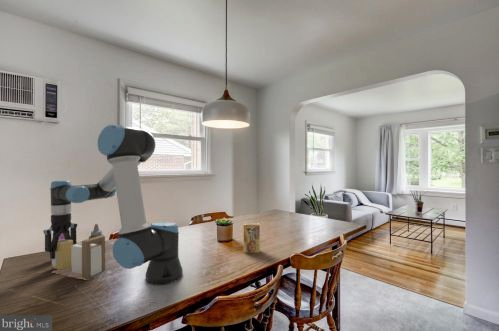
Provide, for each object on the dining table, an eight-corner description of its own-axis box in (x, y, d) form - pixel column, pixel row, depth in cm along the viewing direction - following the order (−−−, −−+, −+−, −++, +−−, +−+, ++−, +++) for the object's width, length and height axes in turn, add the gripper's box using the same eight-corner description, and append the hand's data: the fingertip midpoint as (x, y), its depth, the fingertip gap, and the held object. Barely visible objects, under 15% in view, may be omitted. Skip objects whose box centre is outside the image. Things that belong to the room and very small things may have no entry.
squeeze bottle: (103, 255, 128) (103, 221, 128) (107, 259, 122) (107, 224, 122) (85, 259, 122) (85, 224, 122) (88, 264, 117) (88, 227, 116)
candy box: (259, 250, 136) (259, 223, 136) (259, 252, 131) (259, 225, 131) (243, 250, 135) (243, 223, 135) (243, 253, 131) (243, 225, 131)
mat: (111, 269, 110) (111, 269, 110) (86, 282, 99) (86, 281, 99) (75, 262, 118) (75, 261, 118) (47, 273, 107) (47, 272, 107)
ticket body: (105, 270, 109) (104, 236, 109) (86, 278, 101) (86, 241, 101) (86, 266, 113) (86, 233, 113) (67, 274, 105) (67, 238, 105)
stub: (73, 265, 114) (73, 239, 114) (61, 269, 109) (61, 243, 109) (64, 263, 116) (64, 238, 116) (53, 267, 111) (52, 241, 111)
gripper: (75, 209, 122) (75, 254, 122) (33, 216, 105) (33, 269, 105) (85, 210, 120) (85, 256, 120) (44, 218, 103) (44, 272, 103)
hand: (61, 262), depth 113 cm, fingers closed on stub, 5 cm apart
